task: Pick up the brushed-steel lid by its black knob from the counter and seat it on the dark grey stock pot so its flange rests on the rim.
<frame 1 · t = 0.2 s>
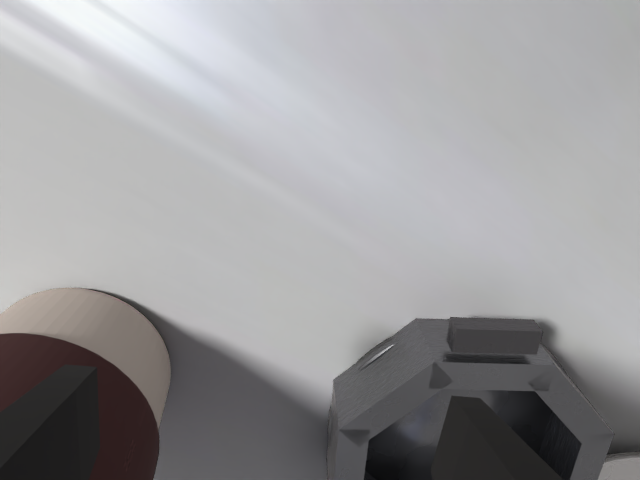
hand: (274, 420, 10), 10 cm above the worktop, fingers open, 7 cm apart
pot: (448, 423, 24), on the worktop
coffee cup: (87, 356, 22), on the worktop
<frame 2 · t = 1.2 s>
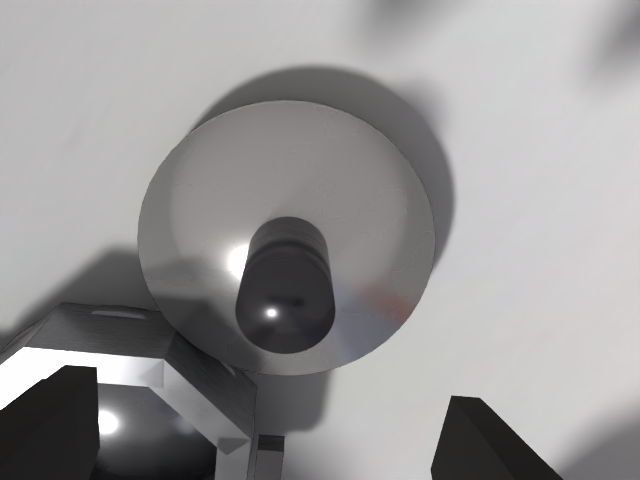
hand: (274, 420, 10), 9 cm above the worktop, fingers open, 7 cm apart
lid: (288, 238, 19), on the worktop
pot: (123, 419, 22), on the worktop
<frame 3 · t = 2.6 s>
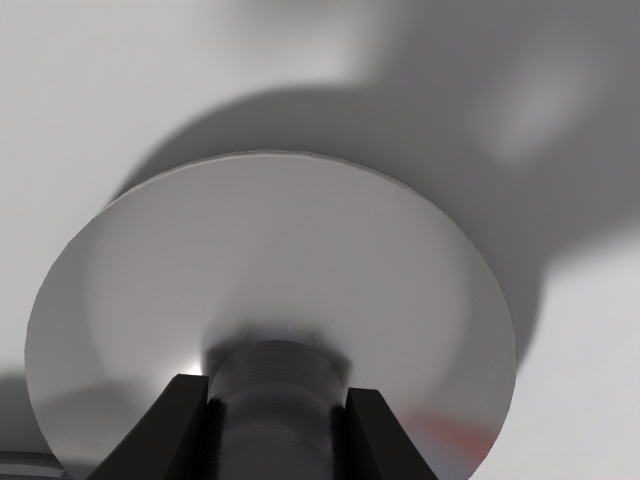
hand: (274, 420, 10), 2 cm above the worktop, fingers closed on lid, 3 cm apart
lid: (278, 356, 12), on the worktop, touching gripper, pot
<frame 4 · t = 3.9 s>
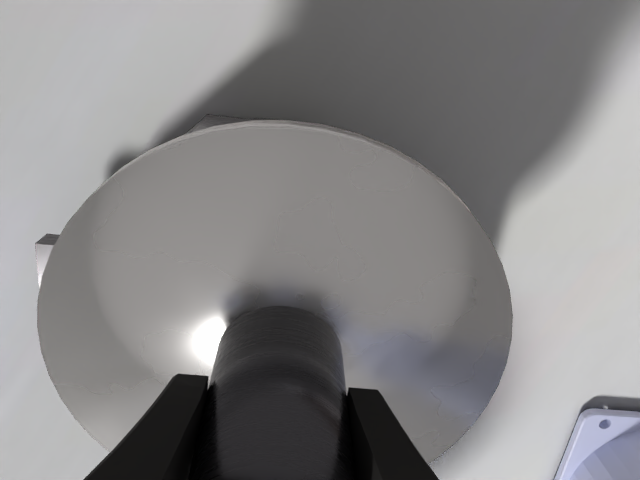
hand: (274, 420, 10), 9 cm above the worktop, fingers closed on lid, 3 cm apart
lid: (281, 319, 13), point 6 cm above the worktop, tilted 5°, touching gripper
pot: (264, 271, 19), on the worktop
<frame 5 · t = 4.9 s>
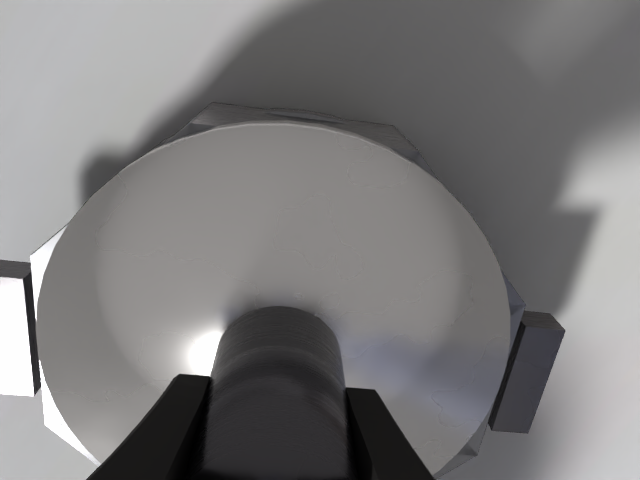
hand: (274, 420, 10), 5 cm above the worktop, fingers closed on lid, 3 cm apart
lid: (280, 327, 13), point 2 cm above the worktop, touching gripper, pot
pot: (281, 304, 15), on the worktop
when the fingers open (5 cm above the worktop, at t = 5.1 s): lid stays where it is, resting on pot.
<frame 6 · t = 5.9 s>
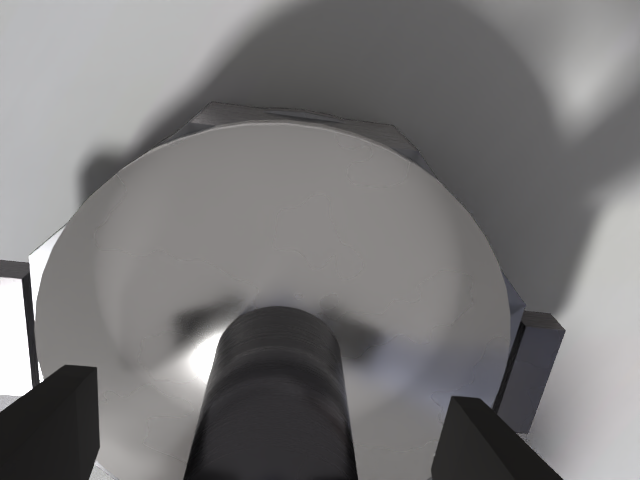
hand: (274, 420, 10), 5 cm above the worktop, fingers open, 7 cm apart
lid: (280, 327, 13), point 2 cm above the worktop, touching pot
pot: (281, 304, 15), on the worktop
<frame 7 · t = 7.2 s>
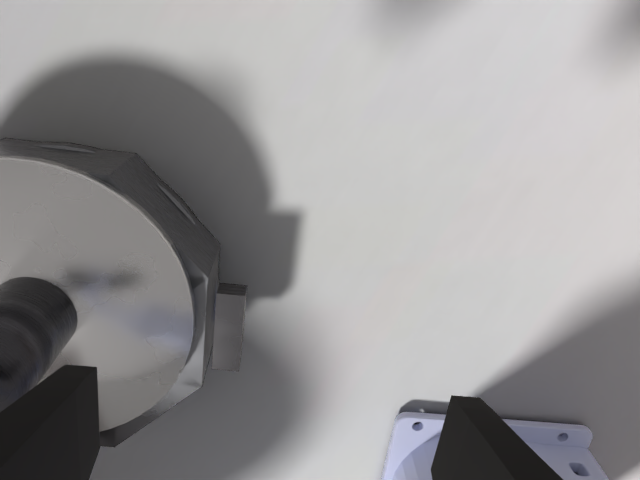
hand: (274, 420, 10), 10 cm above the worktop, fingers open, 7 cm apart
lid: (52, 294, 18), point 2 cm above the worktop, touching pot
pot: (78, 281, 20), on the worktop
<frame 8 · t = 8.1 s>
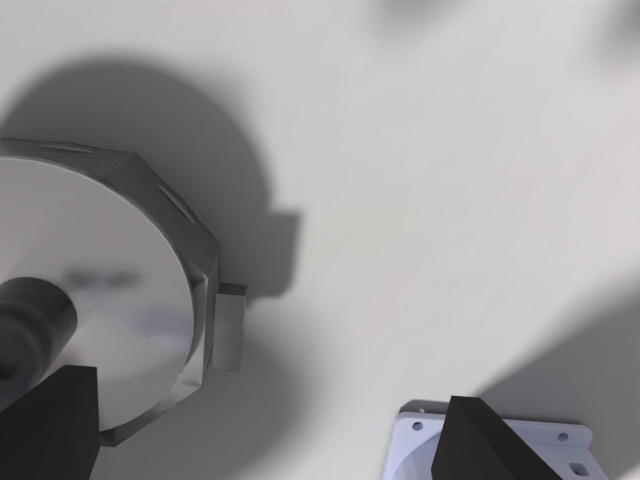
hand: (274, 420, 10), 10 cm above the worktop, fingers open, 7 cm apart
lid: (52, 294, 18), point 2 cm above the worktop, touching pot
pot: (78, 281, 20), on the worktop
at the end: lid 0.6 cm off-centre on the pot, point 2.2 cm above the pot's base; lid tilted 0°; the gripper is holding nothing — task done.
